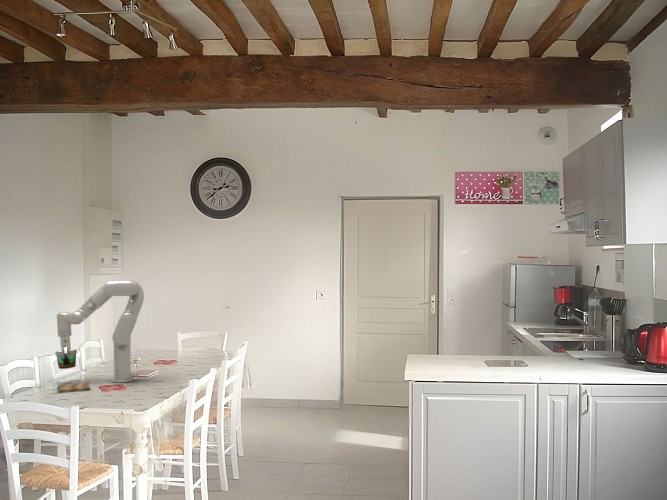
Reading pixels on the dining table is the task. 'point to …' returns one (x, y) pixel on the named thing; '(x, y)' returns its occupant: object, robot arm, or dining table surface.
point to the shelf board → (72, 387)
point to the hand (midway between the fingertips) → (66, 364)
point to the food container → (71, 359)
